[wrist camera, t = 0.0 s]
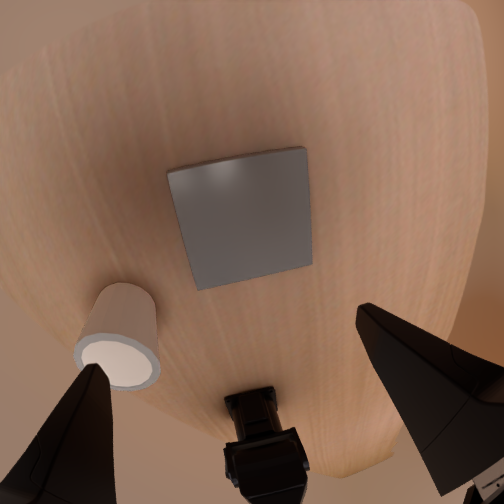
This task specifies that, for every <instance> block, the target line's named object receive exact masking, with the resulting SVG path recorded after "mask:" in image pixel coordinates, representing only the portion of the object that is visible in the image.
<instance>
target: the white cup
mask: <svg viewBox="0 0 504 504" xmlns="http://www.w3.org/2000/svg"><path fill="white" fill-rule="evenodd" d="M73 356H74V359H75V362H76V364H77V367H78V368H79V369H80V370H81V371H82V370H83V368H84V367H85V366H86V365H87V364H90V363H98V364H99V365H100V366H101V368H102V369H103V371H104V372H105V373H106V375H107V376H108V378H109V381H110V389H113V390H120V391H135V390H140V389H145V388H147V387H148V386H150V385H152V384H153V383H155V382H156V381H157V379H158V377H159V375H160V373H161V370H160V360H159V349H158V337H157V323H156V307H155V303H154V301H153V299H152V297H151V296H150V294H148V293H147V292H146V291H145V290H143V289H142V288H141V287H138V286H136V285H133V284H131V283H115V284H112V285H109V286H107V287H106V288H104V289H103V290H102V291H101V292H100V294H99V296H98V298H97V300H96V302H95V304H94V306H93V308H92V310H91V312H90V314H89V316H88V318H87V321H86V323H85V325H84V327H83V329H82V331H81V334H80V336H79V338H78V340H77V343H76V345H75V350H74V355H73Z"/></svg>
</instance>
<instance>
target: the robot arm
mask: <svg viewBox="0 0 504 504" xmlns="http://www.w3.org/2000/svg"><path fill="white" fill-rule="evenodd" d="M356 328H357V331H358V333H359V335H360V338H361V340H362V342H363V345H364V347H365V349H366V352H367V354H368V356H369V359H370V361H371V363H372V365H373V367H374V369H375V371H376V372H377V374H378V376H379V378H380V380H381V381H382V383H383V385H384V387H385V388H386V390H387V392H388V394H389V396H390V398H391V399H392V401H393V403H394V405H395V407H396V409H397V410H398V412H399V414H400V416H401V418H402V420H403V422H404V424H405V425H406V427H407V429H408V431H409V433H410V435H411V437H412V439H413V441H414V443H415V445H416V447H417V449H418V451H419V453H420V454H421V457H422V459H423V461H424V463H425V465H426V467H427V469H428V471H429V473H430V475H431V477H432V479H433V481H434V483H435V486H436V488H437V490H438V492H439V494H440V496H441V497H442V496H444V495H445V494H447V493H449V492H451V491H453V490H455V489H456V488H458V487H460V486H461V485H463V484H465V483H466V482H468V481H470V480H471V479H472V480H473V482H474V484H473V485H472V486H471V487H470V488H468V489H467V493H466V496H465V499H464V502H463V504H504V367H502V366H500V365H497V364H495V363H492V362H489V361H487V360H484V359H482V358H480V357H477V356H475V355H472V354H470V353H468V352H466V351H464V350H462V349H460V348H458V347H456V346H454V345H452V344H451V345H450V343H448V342H446V341H444V340H442V339H440V338H438V337H436V336H434V335H433V334H431V333H429V332H427V331H425V330H423V329H421V328H419V327H417V326H415V325H413V324H411V323H409V322H407V321H405V320H403V319H401V318H399V317H397V316H395V315H393V314H391V313H389V312H388V311H386V310H384V309H382V308H380V307H378V306H376V305H374V304H372V303H365V304H362V305H359V306H358V308H357V315H356ZM224 401H225V404H226V406H227V409H228V411H229V413H230V416H231V418H232V420H233V421H234V424H235V429H236V434H237V438H238V441H237V442H232V443H230V442H228V443H226V448H224V449H223V450H224V456H225V470H226V472H225V474H226V478H228V479H230V480H231V481H232V483H233V485H234V487H235V488H238V487H239V489H240V493H241V495H242V496H243V497H244V498H245V499H246V500H247V502H248V503H249V504H302V502H303V499H304V496H305V493H306V490H307V479H308V477H307V474H306V471H309V470H310V467H309V462H308V459H307V456H306V453H305V450H304V448H303V445H302V443H301V441H300V438H299V436H298V434H297V431H296V429H295V427H292V428H290V429H287V430H284V431H283V430H282V426H281V423H280V420H279V417H278V414H277V411H278V408H277V401H276V394H275V389H274V387H268V388H264V389H260V390H256V391H252V392H248V393H243V394H239V395H234V396H229V397H226V398H224ZM0 504H117V503H116V492H115V478H114V459H113V415H112V404H111V391H110V381H109V378H108V376H107V375H106V373H105V372H104V371H103V369H102V368H101V366H100V365H99V364H98V363H90V364H87V365H86V366H85V367H84V368H83V370H82V371H81V372H80V374H79V375H78V377H77V378H76V379H75V381H74V382H73V383H72V385H71V386H70V387H69V389H68V390H67V391H66V393H65V394H64V396H63V397H62V398H61V400H60V401H59V403H58V404H57V405H56V407H55V408H54V410H53V411H52V412H51V414H50V415H49V417H48V418H47V420H46V421H45V423H44V424H43V425H42V427H41V428H40V430H39V431H38V433H37V435H36V436H35V438H34V439H33V440H32V442H31V443H30V445H29V446H28V448H27V449H26V451H25V452H24V453H23V455H22V456H21V457H20V459H19V460H18V461H17V463H16V464H15V465H14V466H13V468H12V469H11V470H10V472H9V473H8V474H7V475H6V477H5V478H4V479H3V480H2V482H1V483H0Z"/></svg>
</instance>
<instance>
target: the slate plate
mask: <svg viewBox="0 0 504 504" xmlns="http://www.w3.org/2000/svg"><path fill="white" fill-rule="evenodd" d="M167 177H168V181H169V185H170V190H171V194H172V198H173V202H174V206H175V210H176V214H177V218H178V222H179V226H180V230H181V233H182V237H183V241H184V245H185V248H186V252H187V256H188V259H189V263H190V266H191V270H192V273H193V277H194V280H195V284H196V287H197V290H198V291H199V290H203V289H208V288H212V287H217V286H221V285H226V284H230V283H235V282H239V281H244V280H248V279H252V278H257V277H261V276H265V275H270V274H274V273H278V272H282V271H287V270H291V269H295V268H299V267H303V266H308V265H312V264H313V263H312V232H311V209H310V191H309V176H308V162H307V149H306V148H305V147H302V146H299V147H291V148H284V149H277V150H270V151H263V152H257V153H251V154H245V155H240V156H234V157H229V158H223V159H218V160H213V161H208V162H203V163H198V164H194V165H189V166H185V167H180V168H176V169H172V170H168V171H167Z"/></svg>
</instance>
